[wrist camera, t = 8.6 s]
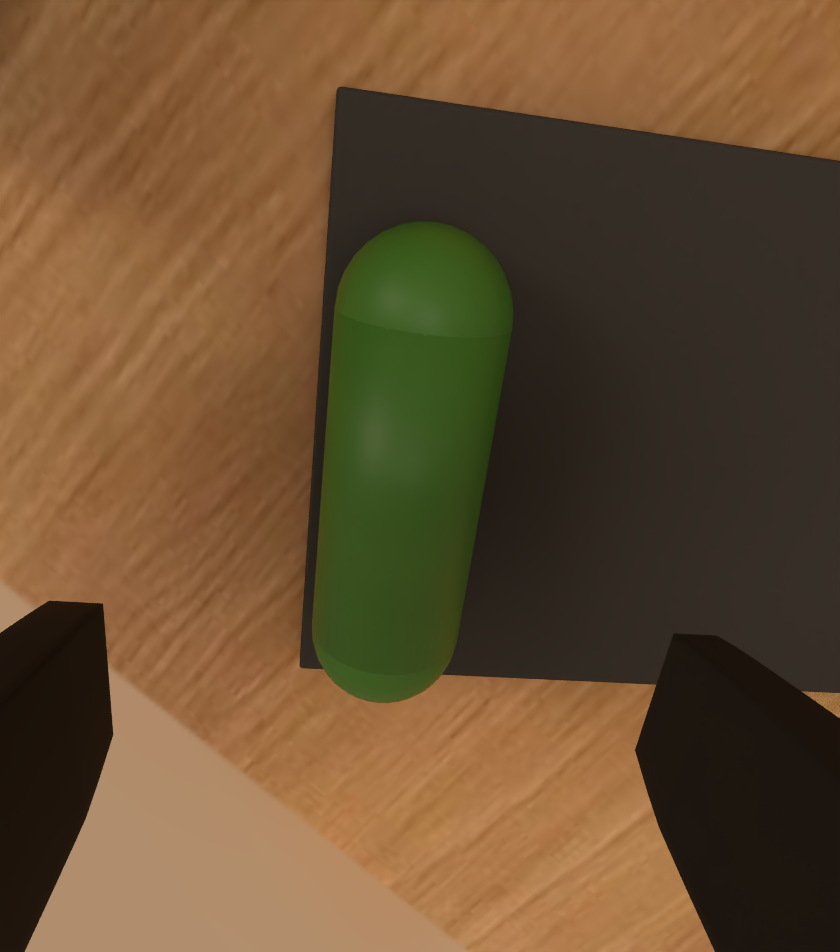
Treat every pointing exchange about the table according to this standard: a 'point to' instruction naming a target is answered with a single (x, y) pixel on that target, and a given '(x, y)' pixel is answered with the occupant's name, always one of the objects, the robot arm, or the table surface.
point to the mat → (626, 385)
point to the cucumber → (406, 454)
